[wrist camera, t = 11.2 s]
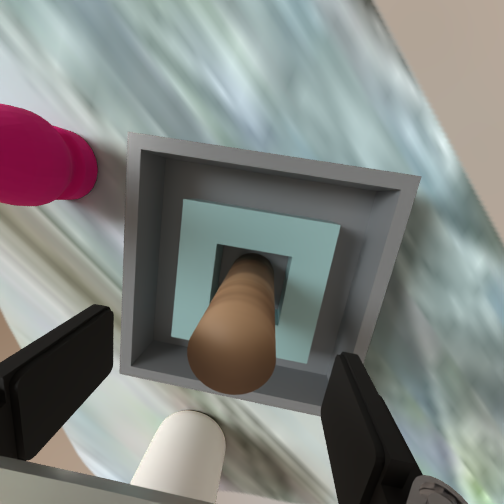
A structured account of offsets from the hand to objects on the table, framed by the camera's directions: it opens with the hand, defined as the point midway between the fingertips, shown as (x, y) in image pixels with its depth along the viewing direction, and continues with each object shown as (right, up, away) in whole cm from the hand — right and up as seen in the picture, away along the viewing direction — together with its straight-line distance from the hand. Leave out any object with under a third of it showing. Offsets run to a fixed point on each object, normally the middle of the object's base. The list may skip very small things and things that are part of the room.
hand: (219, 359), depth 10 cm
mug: (-7, -19, +19) cm, 28 cm away
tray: (+1, +2, +14) cm, 14 cm away
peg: (+1, +2, +13) cm, 13 cm away
